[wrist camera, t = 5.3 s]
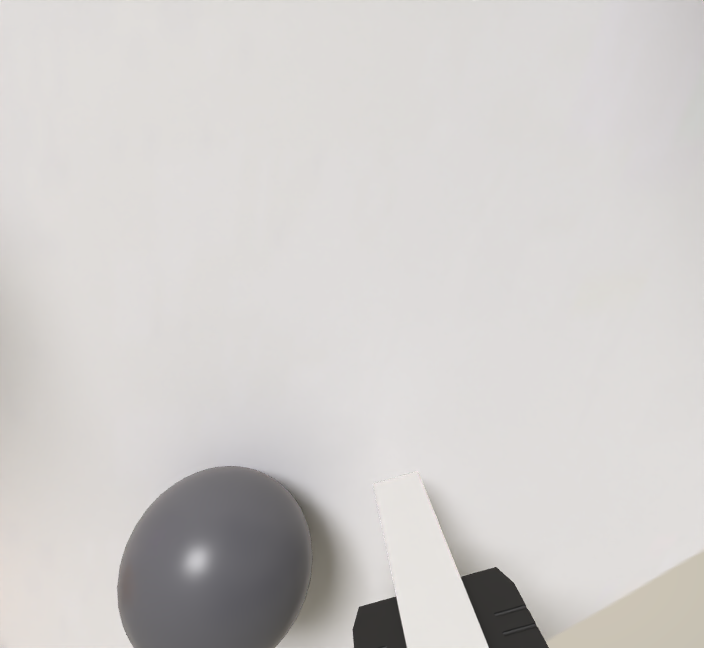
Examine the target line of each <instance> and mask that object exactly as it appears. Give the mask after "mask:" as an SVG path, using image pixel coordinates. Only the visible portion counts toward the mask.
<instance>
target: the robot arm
mask: <svg viewBox="0 0 704 648" xmlns="http://www.w3.org/2000/svg"><path fill="white" fill-rule="evenodd" d="M372 484H373V488H374V493H375V498H376V503H377V507H378V512H379V517H380V522H381V526H382V531H383V536H384V541H385V545H386V550H387V555H388V560H389V564H390V569H391V574H392V579H393V583H394V588H395V593H396V597H393V598H389V599H386V600H382V601H379V602H375V603H371V604H368V605H364V606H361V607H359V609H358V612H357V616H356V620H355V623H354V627H353V639H354V648H549V647H548V645H547V644H546V642H545V640H544V638H543V636H542V634H541V632H540V631H539V629H538V627H537V626H536V624H535V621H534V619H533V618H532V616H531V614H530V612H529V610H528V609H527V608H526V605H525V603H524V601H523V599H522V597H521V595H520V593H519V592H518V590H517V588H516V586H515V584H514V583H513V582H512V581H511V580H510V579H509V578H508V577H507V576H505V575H504V574H503V573H502V572H501V571H500V570H499V569H498V568H497V567H495V568H491V569H487V570H484V571H480V572H477V573H473V574H470V575H466V576H463V577H460V574H459V572H458V569H457V567H456V564H455V562H454V559H453V557H452V554H451V552H450V549H449V547H448V544H447V542H446V539H445V537H444V534H443V532H442V529H441V527H440V524H439V522H438V519H437V517H436V514H435V512H434V509H433V507H432V504H431V502H430V499H429V497H428V494H427V492H426V489H425V487H424V484H423V482H422V479H421V477H420V474H419V472H418V471H416V472H412V473H408V474H405V475H401V476H398V477H394V478H390V479H387V480H383V481H380V482H376V483H372Z"/></svg>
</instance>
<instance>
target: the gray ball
mask: <svg viewBox="0 0 704 648" xmlns="http://www.w3.org/2000/svg"><path fill="white" fill-rule="evenodd" d="M312 560H313V558H312V542H311V537H310V532H309V528H308V524H307V521H306V519H305V516H304V514H303V512H302V510H301V508H300V506H299V505H298V503H297V501H296V500H295V499H294V497H293V496H292V495H291V494H290V492H289V491H288V490H287V489H286V488H285V487H284V486H283V485H282V484H280V483H279V482H278V481H276V480H275V479H273V478H272V477H270V476H268V475H266V474H264V473H262V472H259V471H257V470H254V469H250V468H245V467H238V466H225V467H215V468H210V469H206V470H203V471H199V472H197V473H195V474H192V475H190V476H188V477H186V478H184V479H182V480H180V481H179V482H177V483H175V484H174V485H173V486H171V487H170V488H169V489H167V490H166V491H165V492H164V493H162V494H161V495H160V496H159V497H158V498H157V499H156V500H155V501H154V502H153V503H152V504H151V506H150V507H149V508H148V509H147V510H146V511H145V513H144V514H143V516H142V517H141V519H140V520H139V522H138V523H137V524H136V526H135V528H134V530H133V532H132V534H131V536H130V538H129V540H128V542H127V544H126V547H125V551H124V554H123V557H122V561H121V564H120V569H119V577H118V585H117V591H118V608H119V612H120V617H121V620H122V624H123V627H124V630H125V632H126V635H127V636H128V638H129V640H130V642H131V644H132V645H133V647H134V648H275V647H276V646H277V645H278V643H279V642H280V641H281V640H282V639H283V638H284V636H285V635H286V634H287V633H288V631H289V629H290V628H291V626H292V625H293V623H294V621H295V620H296V618H297V617H298V614H299V612H300V610H301V607H302V605H303V603H304V600H305V598H306V594H307V591H308V587H309V583H310V579H311V570H312Z"/></svg>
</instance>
